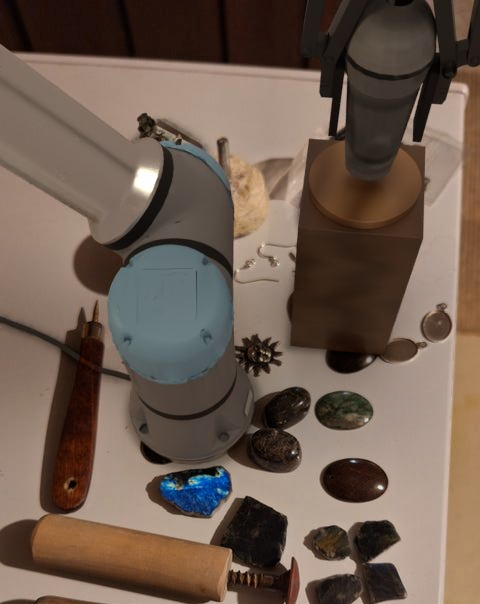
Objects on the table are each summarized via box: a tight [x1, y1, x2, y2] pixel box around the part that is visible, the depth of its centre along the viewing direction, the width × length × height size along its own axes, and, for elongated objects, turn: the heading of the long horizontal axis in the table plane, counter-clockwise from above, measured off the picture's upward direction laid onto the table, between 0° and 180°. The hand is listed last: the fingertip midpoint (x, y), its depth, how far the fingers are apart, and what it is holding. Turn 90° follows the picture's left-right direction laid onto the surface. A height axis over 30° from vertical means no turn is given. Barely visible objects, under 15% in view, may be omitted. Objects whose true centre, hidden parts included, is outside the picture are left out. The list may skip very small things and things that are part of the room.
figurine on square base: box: [134, 112, 204, 150], centre depth 95 cm, size 12×6×11 cm
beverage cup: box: [344, 0, 438, 181], centre depth 51 cm, size 7×7×20 cm
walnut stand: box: [289, 138, 426, 356], centre depth 73 cm, size 12×12×22 cm
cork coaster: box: [308, 139, 422, 229], centre depth 63 cm, size 11×11×1 cm
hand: (375, 127), depth 57 cm, fingers closed on beverage cup, 7 cm apart
